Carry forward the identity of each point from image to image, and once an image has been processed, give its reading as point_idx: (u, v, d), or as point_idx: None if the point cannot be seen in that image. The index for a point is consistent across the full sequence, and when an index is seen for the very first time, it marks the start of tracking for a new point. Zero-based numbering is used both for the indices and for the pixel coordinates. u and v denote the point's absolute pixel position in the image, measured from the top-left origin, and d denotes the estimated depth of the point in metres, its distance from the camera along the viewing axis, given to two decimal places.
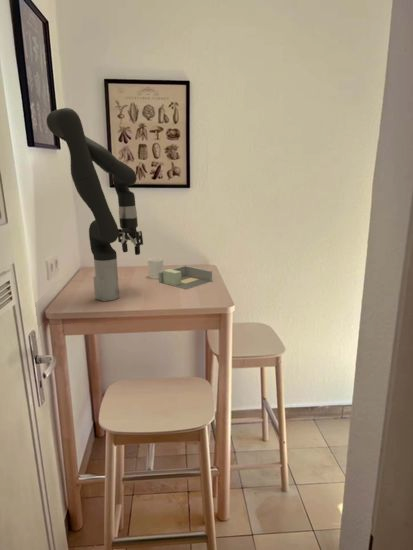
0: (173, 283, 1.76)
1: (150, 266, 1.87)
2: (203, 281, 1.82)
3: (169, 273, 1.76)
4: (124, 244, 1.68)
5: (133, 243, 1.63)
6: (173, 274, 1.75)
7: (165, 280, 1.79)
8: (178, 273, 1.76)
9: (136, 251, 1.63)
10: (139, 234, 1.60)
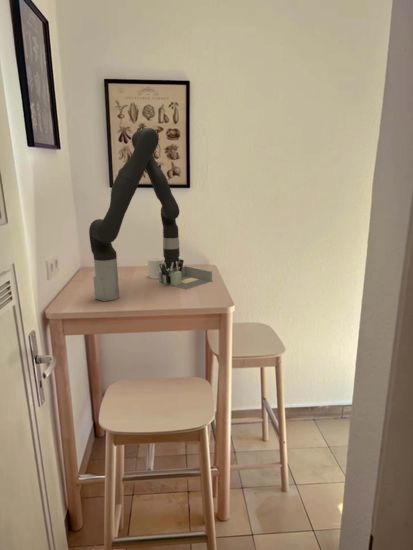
0: (173, 283, 1.76)
1: (150, 266, 1.87)
2: (203, 281, 1.82)
3: None
4: None
5: None
6: (173, 274, 1.75)
7: (165, 280, 1.79)
8: (178, 273, 1.76)
9: None
10: None
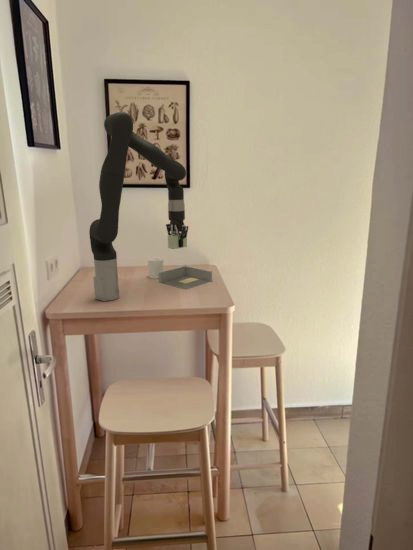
0: (184, 245, 1.78)
1: (150, 266, 1.87)
2: (203, 281, 1.82)
3: (180, 236, 1.75)
4: None
5: None
6: None
7: (176, 245, 1.74)
8: None
9: None
10: None
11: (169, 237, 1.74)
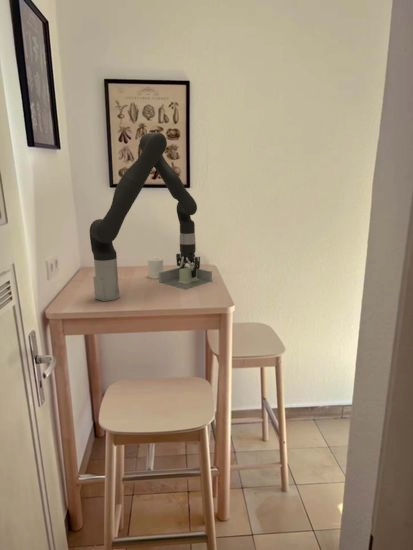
0: (195, 278, 1.84)
1: (150, 266, 1.87)
2: (203, 281, 1.82)
3: (191, 270, 1.81)
4: None
5: None
6: None
7: (187, 279, 1.80)
8: None
9: None
10: None
11: (181, 271, 1.80)
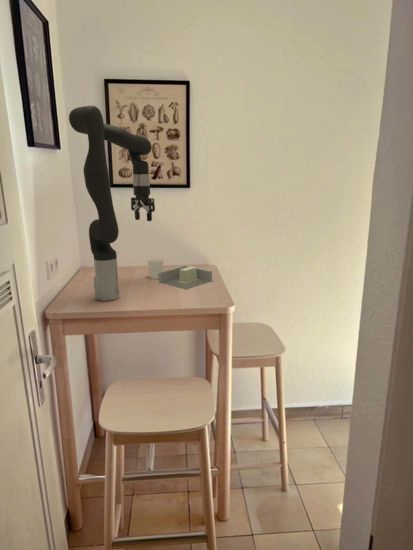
0: (195, 278, 1.84)
1: (150, 266, 1.87)
2: (203, 281, 1.82)
3: (191, 270, 1.81)
4: None
5: (139, 208, 1.79)
6: (195, 269, 1.83)
7: (187, 279, 1.80)
8: None
9: None
10: None
11: (181, 271, 1.80)
